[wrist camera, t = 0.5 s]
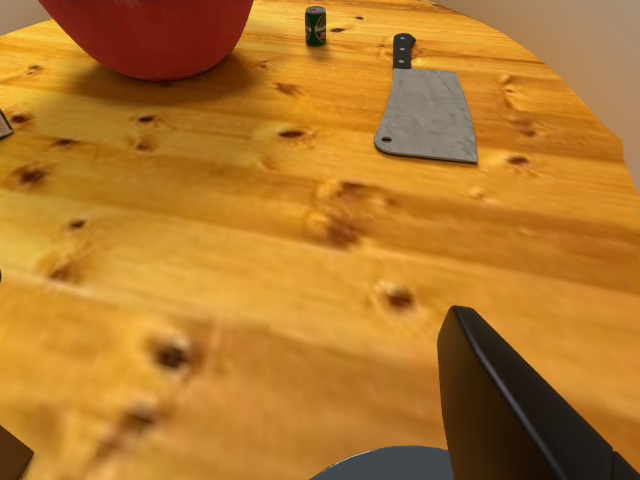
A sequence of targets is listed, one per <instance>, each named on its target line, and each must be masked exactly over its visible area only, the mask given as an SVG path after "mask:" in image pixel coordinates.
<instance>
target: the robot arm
mask: <svg viewBox="0 0 640 480" xmlns="http://www.w3.org/2000/svg"><path fill="white" fill-rule="evenodd" d="M0 282H1V270H0ZM437 350H438V365H439V380H440V394H441V407H442V417H443V423H444V429H445V435H446V440H447V445H448V451H449V456H450V461H451V467H452V472H453V477H454V480H640V474H639V473H638V472H637V471H636V470H635V469H634V468H633V467H632V466H631V465H630V464H629V463H628V462H627V461H626V460H625V459H624V458H623V457H622V456H621V455H620V454H619V453H618V452H616V451H613V448H612V446H611V445H610V444H609V443H608V442H607V441H606V440H605V439H604V438H603V437H602V436H601V435H600V434H599V433H598V432H597V431H596V430H595V429H594V428H593V427H592V426H591V425H590V424H589V423H588V422H587V421H586V420H585V419H584V418H583V417H582V416H581V415H580V414H578V413H577V412H576V411H575V410H574V409H573V408H572V407H571V406H570V405H569V404H568V403H567V402H566V401H565V400H564V399H563V398H562V397H561V396H560V395H559V394H558V393H557V392H556V391H555V390H554V389H553V388H552V387H551V386H550V385H549V384H548V383H547V382H546V381H545V380H544V379H543V378H542V377H541V376H540V375H539V374H538V373H537V372H536V371H535V370H534V369H533V368H532V367H531V366H530V365H529V364H528V363H527V362H526V361H525V360H524V359H523V358H522V357H521V356H520V355H519V354H518V353H517V352H516V351H515V350H514V349H513V348H512V347H511V346H510V345H509V344H508V343H507V342H506V341H505V340H504V339H503V338H502V337H501V336H500V335H499V334H498V333H497V332H496V331H495V330H494V329H493V328H492V327H491V326H490V325H489V324H488V323H487V322H486V321H485V320H484V319H483V318H482V317H481V316H480V315H479V314H478V313H477V312H476V311H475V310H474V309H472V308H470V307H463V306H456V305H454V306H451V307H450V309H449V310H448V312H447V315H446V317H445V320H444V322H443V324H442V327H441V329H440V332H439V335H438V340H437Z"/></svg>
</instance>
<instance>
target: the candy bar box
mask: <svg viewBox="0 0 640 480" xmlns="http://www.w3.org/2000/svg"><path fill="white" fill-rule="evenodd" d="M13 132H14V131H13V129H12V128H11V126H10V124H9V122H8V121H7V119H6V117H5V116H4V114H3V112H2V110H1V109H0V139H1V138H3V137H5V136H7V135H9V134H11V133H13Z"/></svg>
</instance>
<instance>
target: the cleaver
mask: <svg viewBox="0 0 640 480" xmlns="http://www.w3.org/2000/svg"><path fill="white" fill-rule="evenodd" d="M414 42H416V39H415V38H414V37H413V36H411V35H410V34H406V33H400V34H397V35H395V36H394V41H393V83H392V88H391V93H390V97H389V100H388V103H387V107H386V110H385V113H384V115H383V118H382V120H381V123H380V125H379V128H378V130H377V132H376V135H375V137H374V144H375V145H376V147H378V148H379V149H380V150H382V151H383V152H386V153H390V154H397V155H406V156H415V157H425V158H434V159H443V160H453V161H462V162H478V161H477V152H476V143H475V135H474V130H473V125H472V120H471V116H470V112H469V109H468V105H467V102H466V99H465V96H464V93H463V90H462V88H461V85H460V82H459V80H458V77H457V74H456V72H451V71H441V70H427V69H413V68H411V63H410V47H411V45H412V43H414ZM382 139H390V140H391V142H388V143H386V142H383V141H382Z"/></svg>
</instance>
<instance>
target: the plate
mask: <svg viewBox="0 0 640 480" xmlns="http://www.w3.org/2000/svg"><path fill="white" fill-rule="evenodd" d="M309 480H454V477H453V472H452V467H451V461H450V456H449V451H448V450H444V449H440V448H433V447H423V446H391V447H385V448H379V449H373V450H369V451H366V452H363V453H360V454H357V455H353V456H350V457H348V458H346V459H344V460H342V461H340V462H337V463H335V464H333V465H331V466H329V467H328V468H326V469H325V470H323V471H322V472H320V473H319V474H317V475H316V476H314V477H312V478H311V479H309Z"/></svg>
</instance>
